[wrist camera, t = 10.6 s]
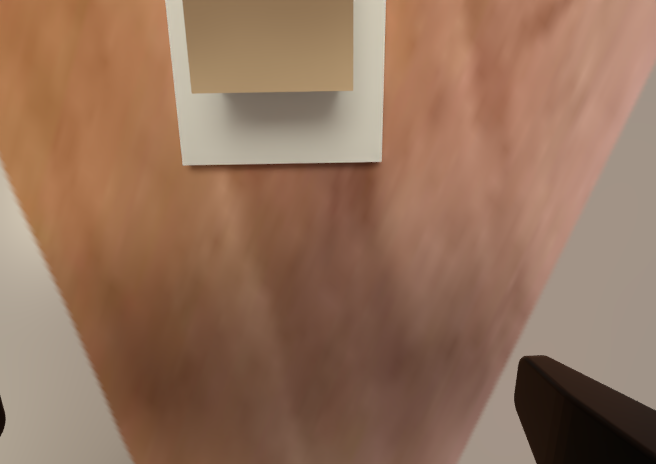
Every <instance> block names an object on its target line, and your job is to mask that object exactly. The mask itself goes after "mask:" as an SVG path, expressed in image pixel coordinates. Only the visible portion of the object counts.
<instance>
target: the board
mask: <svg viewBox="0 0 656 464" xmlns="http://www.w3.org/2000/svg"><path fill="white" fill-rule="evenodd" d="M165 3H166V12H167V21H168V31H169V40H170V50H171V59H172V69H173V78H174V87H175V97H176V106H177V116H178V125H179V134H180V144H181V153H182V163H183V165H231V164H287V163H343V162H382V127H383V89H384V51H385V14H386V0H353V91H312V92H254V93H196V94H192V92H191V82H190V72H189V62H188V52H187V42H186V32H185V22H184V12H183V2H182V0H165Z"/></svg>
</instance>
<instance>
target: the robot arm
mask: <svg viewBox="0 0 656 464" xmlns="http://www.w3.org/2000/svg"><path fill="white" fill-rule="evenodd" d="M514 402H515V407H516V411H517V413H518V416H519V419H520V421H521V424H522V426H523V429H524V432H525V434H526V437H527V440H528V442H529V445H530V448H531V450H532V453H533V455H534V458H535V460H536V463H537V464H656V410H653V409H651V408H650V407H647V406H645V405H643V404H642V403H640V402H638V401H635V400H634V399H632V398H630V397H627V396H625V395H624V394H621V393H620V392H618V391H616V390H613V389H612V388H610V387H608V386H606V385H604V384H601V383H600V382H598V381H595V380H594V379H592V378H590V377H588V376H585V375H583V374H582V373H580V372H578V371H576V370H574V369H572V368H570V367H567V366H565V365H564V364H562V363H560V362H558V361H555V360H554V359H552V358H549V357H547V356H544V355H540V356H539V355H537V356H524V357H522V358H521V359H520V361H519V365H518V371H517V379H516V386H515V393H514ZM5 420H6V419H5V411H4V408H3V404H2V400H1V397H0V436H1V434H2V432H3V429H4V426H5Z"/></svg>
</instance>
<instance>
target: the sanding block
mask: <svg viewBox="0 0 656 464" xmlns="http://www.w3.org/2000/svg"><path fill="white" fill-rule="evenodd" d="M182 2H183V12H184V22H185V32H186V42H187V52H188V62H189V72H190V82H191V92H192V94H196V93H254V92H312V91H353V0H182Z"/></svg>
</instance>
